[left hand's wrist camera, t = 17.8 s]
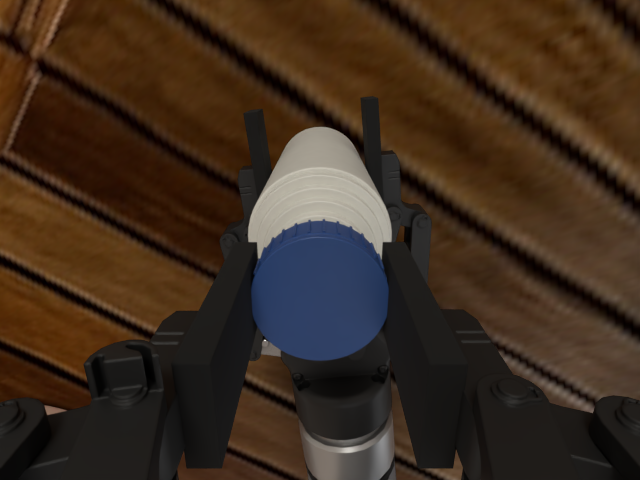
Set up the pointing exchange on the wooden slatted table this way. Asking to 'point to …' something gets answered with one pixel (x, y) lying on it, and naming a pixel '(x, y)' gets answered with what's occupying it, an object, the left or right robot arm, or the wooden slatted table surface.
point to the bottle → (319, 190)
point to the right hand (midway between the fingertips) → (310, 105)
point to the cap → (319, 291)
